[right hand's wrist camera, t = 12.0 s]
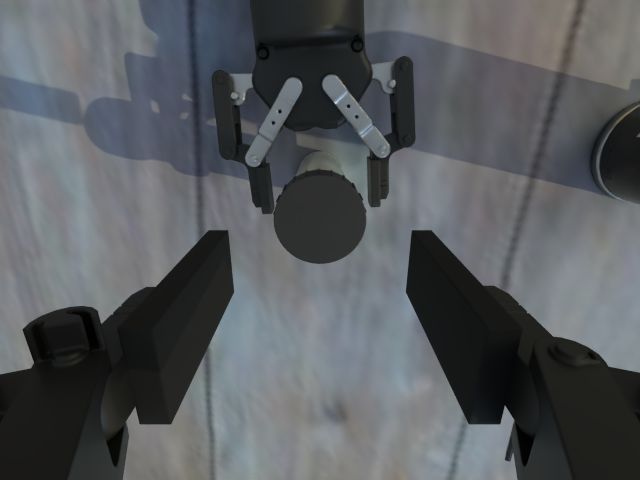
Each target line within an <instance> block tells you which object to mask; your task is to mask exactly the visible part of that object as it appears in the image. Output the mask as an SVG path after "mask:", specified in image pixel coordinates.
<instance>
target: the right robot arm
mask: <svg viewBox="0 0 640 480" xmlns="http://www.w3.org/2000/svg"><path fill="white" fill-rule="evenodd" d="M233 293H234V286H233V276H232V266H231V255H230V245H229V235H228V230H209V231H208V232H207V233H206V234H205V235H204V236H203V237H202V238H201V239H200V240H199V241H198V242H197V244H196V245H195V246H194V247H193V248H192V249H191V250H190V251H189V252H188V253H187V254H186V255H185V256H184V257H183V258H182V260H181V261H180V262H179V263H178V264H177V265H176V266H175V267H174V268H173V269H172V270H171V271H170V272H169V273H168V275H167V276H166V277H165V278H164V279H163V280H162V281H161V282H160V283H159V284H158V285H157V286H156V287H145V288H144V289H142V290H140V291H138V292H136V293H134V294H133V295H131V296H130V297H129V298H128V299H127V300H126V301H125V302H124V303H123V304H122V306H121V307H119V308H118V309H117V310H116V311H115V312H114V313H113V315H110V316H109V317H108V318H107V319H106V320H105V321H104V322H103V323H102V324H101V322H100V318H99V314H98V311H97V310H95V309H94V308H92V307H86V306H77V307H68V308H64V309H60V310H56V311H53V312H50V313H48V314H45V315H42V316H40V317H39V318H37V319H35V320H33V321H32V322H30V323H29V324H28V325H27V326H26V327H25V328H24V329H22V330H23V332H24V335H25V338H26V341H27V344H28V347H29V349H30V352H31V355H32V358H33V361H34V364H33V366H32V368H31V369H26V370H21V371H16V372H11V373H6V374H1V375H0V480H123V473H124V466H125V460H126V453H127V446H128V439H129V434H128V427H127V424H126V420H127V419H128V417H129V416H130V414H131V412H132V411H133V409H134V408H135V406H136V410H137V415H138V419H139V423H140V424H171V423H172V421H173V419H174V417H175V415H176V413H177V411H178V409H179V407H180V405H181V402H182V400H183V398H184V396H185V394H186V392H187V390H188V388H189V386H190V384H191V381H192V379H193V377H194V375H195V373H196V371H197V369H198V367H199V365H200V363H201V360H202V358H203V356H204V354H205V352H206V350H207V348H208V346H209V344H210V342H211V339H212V337H213V335H214V333H215V331H216V329H217V327H218V325H219V323H220V321H221V318H222V316H223V314H224V312H225V310H226V308H227V306H228V304H229V302H230V299H231V297H232V295H233ZM406 293H407V295H408V297H409V299H410V302H411V304H412V306H413V308H414V310H415V312H416V314H417V316H418V318H419V321H420V323H421V325H422V327H423V329H424V331H425V333H426V335H427V337H428V339H429V342H430V344H431V346H432V348H433V350H434V352H435V354H436V356H437V358H438V360H439V363H440V365H441V367H442V369H443V371H444V373H445V375H446V377H447V379H448V381H449V384H450V386H451V388H452V390H453V392H454V394H455V396H456V398H457V400H458V402H459V405H460V407H461V409H462V411H463V413H464V415H465V417H466V419H467V421H468V423H469V424H500V423H501V419H502V415H503V410H504V406H506V407H507V409H508V410H509V412H510V414H511V415H512V417H513V418H514V424H513V427H512V431H511V435H510V439H509V443H508V447H507V451H506V457H505V460H506V461H511V457H512V454H513V453H514V459H515V465H516V472H517V479H518V480H640V373H638V372H633V371H628V370H623V369H617V368H612V367H608V365H607V364H606V362H605V361H604V360H603V359H602V357H601V356H600V355H599V354H597V353H596V352H594V351H593V350H591V349H590V348H588V347H586V346H584V345H582V344H580V343H577V342H575V341H572V340H568V339H565V338H560V337H553V336H552V335H551V334H550V333H549V332H548V331H547V330H546V329H545V328H544V327H543V326H542V325H541V324H539V323H538V322H537V321H536V320H535V319H534V318H533V317H532V316H531V315H530V314H529V313H527V311H526V310H525V309H524V308H523V307H522V306H521V305H519V303H518V302H517V301H516V300H515V299H514V298H513V297H512V296H511V295H509V294H508V293H506V292H504V291H503V290H501V289H499V288H497V287H495V286H483V285H482V284H481V283H480V282H479V281H478V280H477V279H476V278H475V277H474V276H473V275H472V273H471V272H470V271H469V270H468V269H467V268H466V267H465V266H464V265H463V264H462V263H461V262H460V261H459V260H458V258H457V257H456V256H455V255H454V254H453V253H452V252H451V251H450V250H449V249H448V248H447V247H446V246H445V245H444V244H443V242H442V241H441V240H440V239H439V238H438V237H437V236H436V235H435V234H434V233H433V232H432V231H431V230H412V235H411V245H410V255H409V266H408V276H407V286H406Z"/></svg>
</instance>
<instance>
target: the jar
mask: <svg viewBox="0 0 640 480" xmlns="http://www.w3.org/2000/svg"><path fill="white" fill-rule="evenodd" d="M318 168H320V170H329V171H331V170H333V172H336V173H338V174H340V175H344V173H343V170H342V168H341V165H340V163H339V161H338V160H337V159H336V158H335V157H334V156H333V155H332V154H330V153H327V152H324V151H317V152H313V153H310V154H308V155H307V156H306V157H305V158H304V159H303V160H302V161H301V163H300V165H299V168H298V170H297V173H296V175H295V176H298V175H300V174H302V173H304V172H305V171H306V170H307V171H311V170H318ZM344 176H345V175H344Z"/></svg>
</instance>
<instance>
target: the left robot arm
mask: <svg viewBox="0 0 640 480" xmlns="http://www.w3.org/2000/svg"><path fill="white" fill-rule="evenodd" d="M250 8H251V16H252V24H253V33H254V41H255V50H256V64H255V68H254V71H253V74H229V73H227V72H224V71H222V70H218V71H216V72H214V74H213V75H212V86H213V95H214V105H215V114H216V123H217V133H218V142H219V152H220V155H221V156H222V157H223V158H224V159H226V160H234V161H238V162H241V163H243V164H244V165H245V166H246V167H247V169H248V172H249V179H250V187H251V193H252V201H253V203H254V205H255V207H261V208H262V213H263V214H272V212H273V210H274V199H273V190H272V182H271V174H270V165H269V163H266V157H267V155H268V154H269V152H270V150H271V148H272V147H273V145H274V143H275V142H276V140H277V139H278V137H279V136H280V134H281V132H282V131H283V129H284V127H287V128H288V129H291V130H294V131H305V130H308V129H311V128H313V127H319V128H324V129H334V128H337V127H339V126H341V125H343V124H344V123H345V122H346V121H347V123H348V124H349V125H350V126H351V127H352V129H353V130H354V131H355V132H356V134H357V135H358V136H359V137H360V138H361V140H362V141H363V142H364V143H365V144H366V146H367V147H368V148H369V149H370V157H367V177H368V202H369V205H370V206H371V207H380V199H386V198H387V195H388V193H389V185H388V184H389V180H388V179H389V158H390V156H391V154H392V153H394V152H395V151H398V150H400V149H402V148H404V147H410V146H412V145H413V144H414V142H415V114H414V85H413V63H412V60H411V59H410V58H409V57H406V56H403V57H400V58H398V59H396V60H395V61H390V62H383V63H376V64H371V63H370V62H369V60H368V58H367V55H366V52H365V38H364V0H250ZM372 79H373V80H376V81H377V82H378V83H379V85H380V88H381V91H382V92H383V93H385V94H390V108H391V126H392V133H390V134H387V135H385V136H382V135H381V133H380V132H379V131H378V129H377V128H376V127H375V125H374V124H373V122H372V121H371V119H370V118H369V117H368V116H367V114H366V113H365V112H364V110H363V109H362V108H361V107H360V105H359V104H358V102H359V101H360V99H361V97H362V96H363V94H364V93H365V91H366V89H367V88H368V86H369V84H370V83H371V80H372ZM251 89H254V90H255V91H256V93H257V94H258V95H259V96H260V98H261V99H262V100H263V101H264V102H265V104H266V105H267V106H268V107H269V108H270V111H269V113H268V115H267V117H266V118H265V120H264V122H263V124H262V125H261V127H260V129H259V131H258V134H257V136H256V138H255V139H254V141H253V143H252V145H251V146H250V145H247V144H243V143H242V133H241V121H240V109H239V105H243V104H245V102H246V101H247V94H248V92H249V91H250V90H251ZM591 170H592V175H593V178H594V181H595V183H596V184H597V186H598V187H599V189H600V190H601V191H602V192H604V193H605V194H607V195H608V196H610V197H613V198H616V199H619V200H622V201H626V202H633V203H637V204H640V101H639V102H637V103H634V104H633V105H631V106H629V107H627V108H625V109H624V110H623V111H621V112H620V113H619V114H617V115H616V116H615V117H614V118H613V119H612V120H611V121H610V122H609V123H608V124H607V125H606V127H605V128H604V129H603V131H602V132H601V134H600V136H599V138H598V139H597V142H596V144H595V147H594V150H593V153H592V159H591Z"/></svg>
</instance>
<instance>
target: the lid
mask: <svg viewBox="0 0 640 480" xmlns="http://www.w3.org/2000/svg"><path fill="white" fill-rule="evenodd" d="M282 191H283V192H282V194H281V195H279V197H278V199H277V201H276V202H277V205H276V208H275V211H274V213H273V215H274V227H275V231H276V234H277V237H278V239H279V241H280V242H281V244H282V245H283V247H284V248H285V249H286V250H287V251H288V252H289V253H291V254H292V255H293V256H295V257H296V258H298V259H301V260H303V261H306V262H310V263H316V264H324V263H331V262H334V261H337V260H339V259H342V258H343V257H345V256H347V255H348V254H349V253H351V252H352V251H353V250H354V249H355V248H356V246H357V245H358V244H359V242H360V241H361V239H362V237H363V234H364V231H365V227H366V209H365V207H364V205H363V202H362V200H363V198H362V196H361V194H360V193H358V192H357V190H356V187H355V185H354V183H351V182H350V181H349V180H348V179H346V178H345V176H344V175H340V174H338V173H336V172H333V170H331V171H329V170H320V168H318V170H311V171H307V170H306V171H305V172H304V173H302V174H300V175H298V176H294V178H293V179H292V180H291V181H290V182H289V183H288V184H287V185H285V186H284V188H283V190H282Z"/></svg>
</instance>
